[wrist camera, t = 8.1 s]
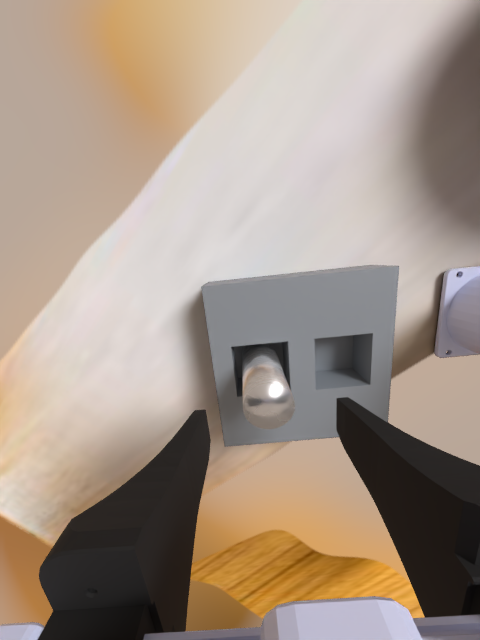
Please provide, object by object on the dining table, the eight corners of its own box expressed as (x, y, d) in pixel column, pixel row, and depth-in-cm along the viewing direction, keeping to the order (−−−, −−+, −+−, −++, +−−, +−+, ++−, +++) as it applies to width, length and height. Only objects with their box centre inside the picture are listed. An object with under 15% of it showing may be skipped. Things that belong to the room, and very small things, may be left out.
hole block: (371, 265, 19) (398, 265, 16) (365, 407, 23) (387, 433, 19) (208, 282, 20) (201, 286, 16) (227, 419, 23) (224, 446, 20)
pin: (275, 337, 20) (295, 383, 13) (274, 367, 21) (294, 428, 13) (241, 337, 20) (242, 384, 13) (242, 368, 21) (243, 429, 13)
